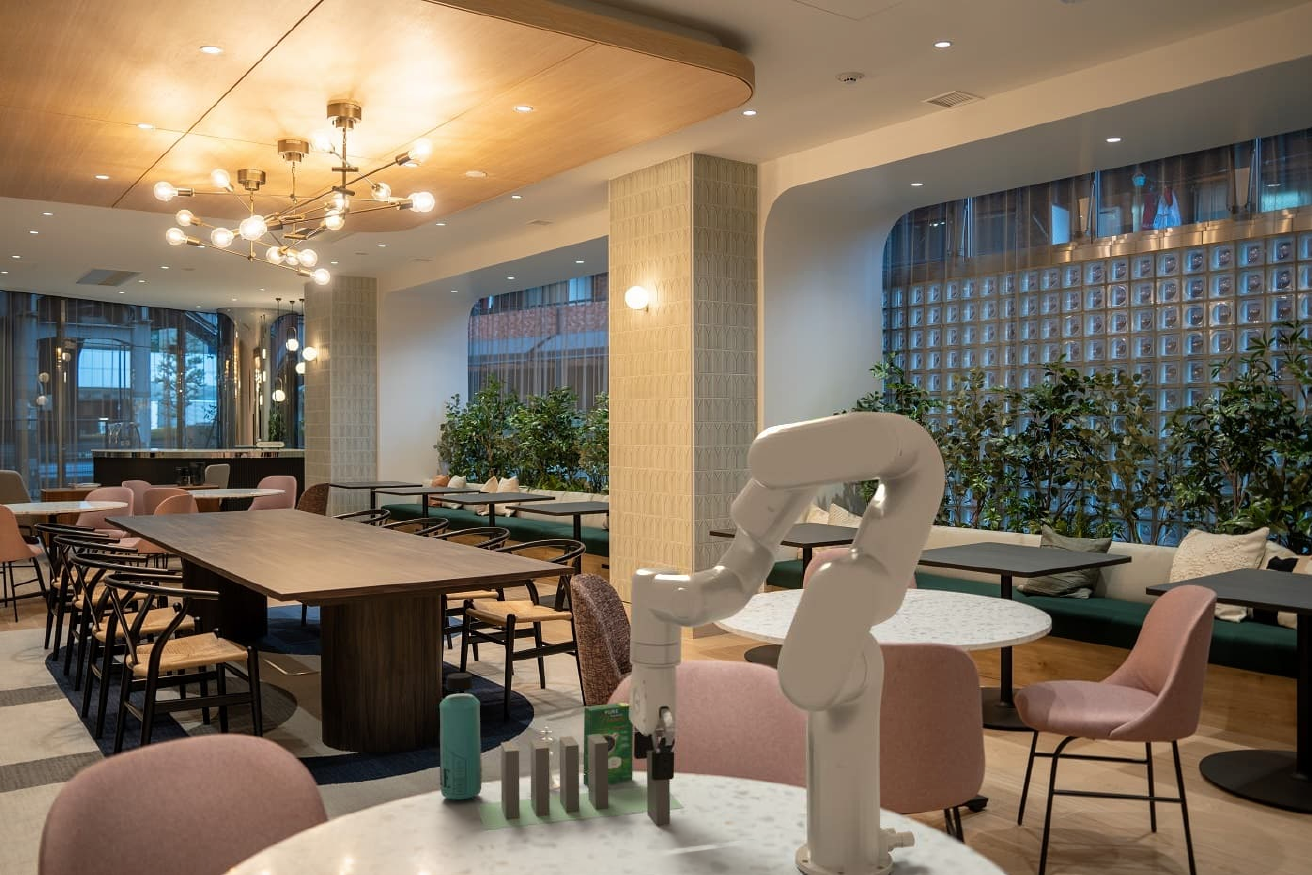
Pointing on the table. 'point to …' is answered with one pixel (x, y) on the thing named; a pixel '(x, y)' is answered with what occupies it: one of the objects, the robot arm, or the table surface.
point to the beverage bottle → (460, 740)
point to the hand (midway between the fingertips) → (653, 768)
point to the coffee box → (611, 739)
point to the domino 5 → (657, 797)
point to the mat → (617, 802)
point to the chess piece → (552, 783)
